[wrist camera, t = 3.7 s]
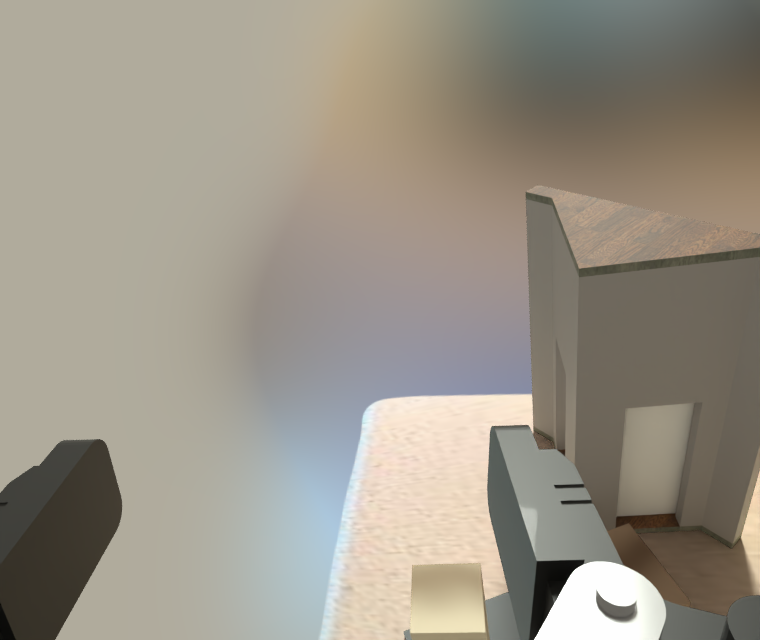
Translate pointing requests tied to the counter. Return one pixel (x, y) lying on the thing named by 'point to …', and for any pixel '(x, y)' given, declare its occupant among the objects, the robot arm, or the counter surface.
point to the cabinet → (647, 359)
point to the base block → (645, 563)
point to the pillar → (448, 603)
